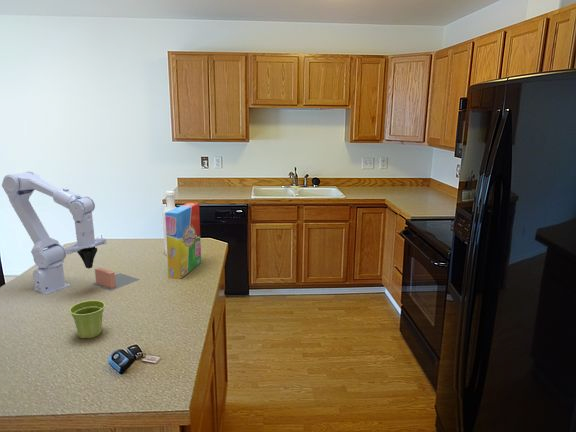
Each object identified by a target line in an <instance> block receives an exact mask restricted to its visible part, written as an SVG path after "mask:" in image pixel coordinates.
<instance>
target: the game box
mask: <svg viewBox="0 0 576 432" xmlns="http://www.w3.org/2000/svg"><path fill="white" fill-rule="evenodd" d="M200 218H201V217H200V203H199V202H186V203H184V204H182V205H180V206H177V208H175V209H173V210H170V211H168V212H165V220H166V236H167V255H168V256H167V255H166V256H167V271H168V272H167V274H168V278H169V279H179V280H180V279H181V280H182V278H184V276H186V275H187V274H188V273H190V272H191V271H192V270H193V269H195V268H196V267H197V266H199V264H201V263H202V254H201V253H202V251H201V250H202V249H201V248H202V247H201V244H202V243H201V220H200Z"/></svg>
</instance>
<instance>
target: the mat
mask: <svg viewBox="0 0 576 432" xmlns="http://www.w3.org/2000/svg"><path fill="white" fill-rule="evenodd" d="M139 280H140V281H141V279H140V278H136V277H134V276H131V275H127V274H124V273H121V272H120V273H118V274H115V283H116V287H115V288H112V289H110V288H107V287H104V286H102V285H99V284H96V281H95V282H93V283H91V285H93V286H95V287H98V288H101V289H104V290H107V291H110V292H112V291H115V290H116V289H119V288H122V287H125V286H128V285H130V284H132V283H134V282H137V281H139Z"/></svg>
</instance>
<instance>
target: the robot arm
mask: <svg viewBox="0 0 576 432" xmlns="http://www.w3.org/2000/svg"><path fill="white" fill-rule="evenodd" d="M1 187H2V188H3V190H4V192H5V194H6V195H7V198H8V201H9V203H10V204H11V207H12V208H13V210H14V212H15V213H16V215H17V216H18V217H17V218H18V219H19V221H20V222H21V223H22V225H23V227H24V229H25V231H26V232H27V234H28V236H29V237H30V240H31V241H32V242H33V244H34V245H33V247H32V248H31V251H30V253H31V255H32V257H33V262H34V263H35V265H36V266H37V267H38V268H36V269H34V270H33V272H32V278H33V285H34V289H33V290H34V291H36V292H39V293H41V294H42V295H48V294H51V293H54V292H56V291H59V290H62V289H65V288H68V287H70V286H71V284H70V283H67V282H66V281H65V280H66V279H65V274H64V273H65V272H64V261H65V259H66V258H67V255H71V254H73V253H77V254H78V256H79V257H80V259H82V262H83V265H84V267H85V268H86V269H92V268H93V264H94V261H95V260H94V259H95V257H96V254H97V252H98V248H97V246H102V245H106V244H107V239H106V238H104V237H101V238H97V239H96V238H95V231H94V228H95V227H94V222H93V219H94V218H93V211H94V210H95V208H96V204H95V202H94V199H92V198H91V197H89V196H81V195H80V194H78V193H77V194H76V193H74V192H72V191H70V189H69V188H68V187H61V188H58V187H56V186H54V185H53V184H51V183H49V182H48V181H46V180H44V179H43V178H41V177H40V175H39V174H37V173H35V172H33V171H26V172H20V173H13V174H11V173H10V174H7V175H5V176H4V177H3V180H2V184H1ZM35 191H38V192H40V193H42V194H44V195H47V196H49V197H52V199H53V202H54V203H56V204H57V205H60V206H62V207H64V208H66V209H68V211H69V212H70V214H71V215H72V220H73V221H74V227H75V237H76V243H75V244H73V245H71V246H68V247H64V246H63V245H62V244H61V243H59V240H57V239H55V238H52V237H50V234H49V233H48V231H47V229H45V228H46V227H44V225H43V223H42V221H41V219H40V218H39V216H38V214H37V212H36V210H35V209H34V207H33V206H32V204H31V202H30V197H31V196H32V195H33V193H34V192H35Z"/></svg>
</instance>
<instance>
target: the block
mask: <svg viewBox="0 0 576 432" xmlns="http://www.w3.org/2000/svg"><path fill="white" fill-rule="evenodd" d="M94 274H95V276H94V277H95V282H96V284H99V285H102V286H104V287H107V288H110V289H112V288H115V287H116V283H115V275H116V273H115V271H112V270H109V269H106V268H103V267H97V268H94Z"/></svg>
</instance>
